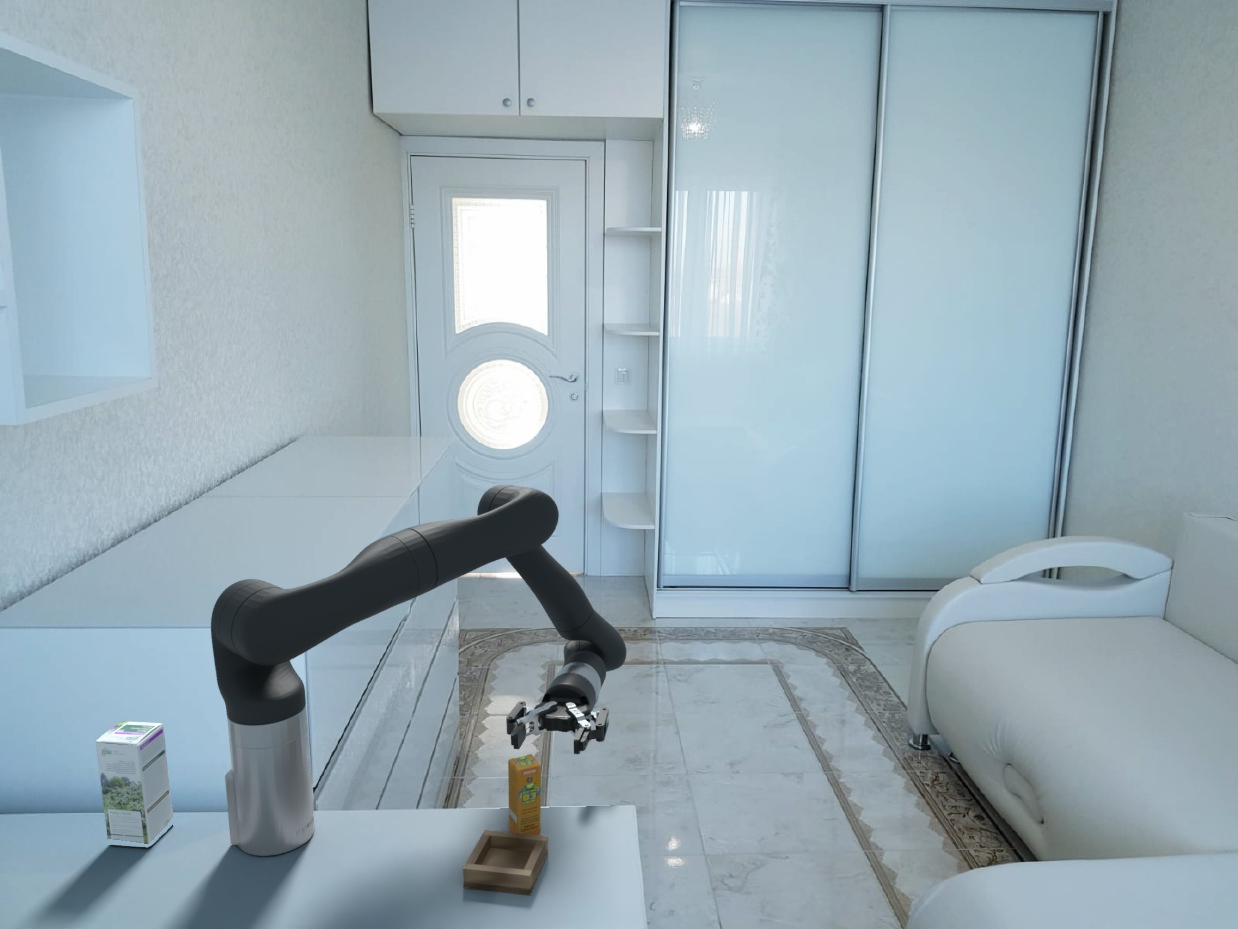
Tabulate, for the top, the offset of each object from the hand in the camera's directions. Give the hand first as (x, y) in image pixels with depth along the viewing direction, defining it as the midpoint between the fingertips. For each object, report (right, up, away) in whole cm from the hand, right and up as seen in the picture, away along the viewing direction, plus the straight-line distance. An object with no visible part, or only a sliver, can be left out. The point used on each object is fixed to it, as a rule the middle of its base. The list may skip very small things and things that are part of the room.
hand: (545, 745), depth 129 cm
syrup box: (-51, -9, -9) cm, 52 cm away
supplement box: (-2, -9, -9) cm, 12 cm away
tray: (-3, -10, -16) cm, 20 cm away
